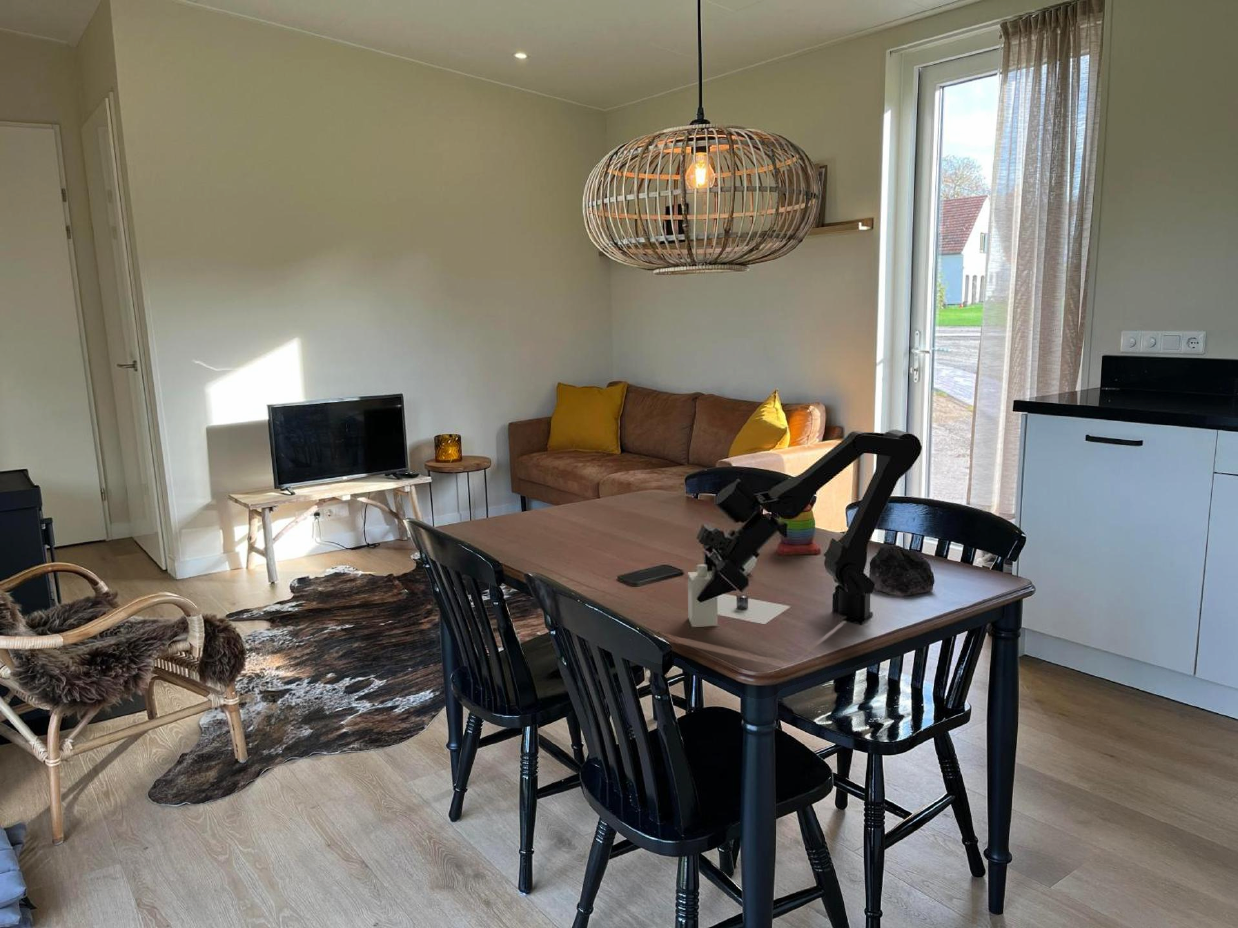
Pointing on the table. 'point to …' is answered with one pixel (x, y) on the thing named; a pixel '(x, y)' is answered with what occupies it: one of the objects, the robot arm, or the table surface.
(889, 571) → the dark rough rock
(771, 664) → the table surface
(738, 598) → the metal post
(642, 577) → the phone
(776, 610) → the stone board
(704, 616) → the white knobbed block
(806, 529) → the stacking bear
